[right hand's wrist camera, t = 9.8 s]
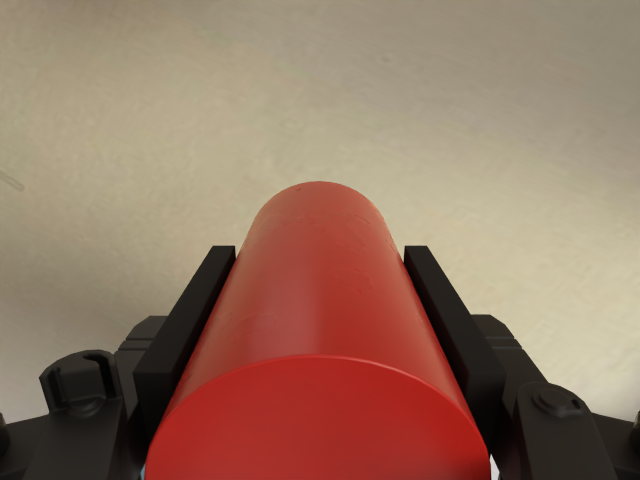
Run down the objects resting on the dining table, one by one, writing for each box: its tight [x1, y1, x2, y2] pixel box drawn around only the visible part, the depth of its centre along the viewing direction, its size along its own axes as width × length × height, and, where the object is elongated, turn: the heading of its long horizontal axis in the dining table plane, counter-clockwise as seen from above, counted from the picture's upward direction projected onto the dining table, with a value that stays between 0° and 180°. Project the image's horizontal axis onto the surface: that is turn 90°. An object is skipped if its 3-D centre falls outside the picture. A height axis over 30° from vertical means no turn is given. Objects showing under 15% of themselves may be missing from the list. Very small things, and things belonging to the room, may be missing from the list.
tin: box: [144, 181, 491, 480], centre depth 12 cm, size 6×6×11 cm
